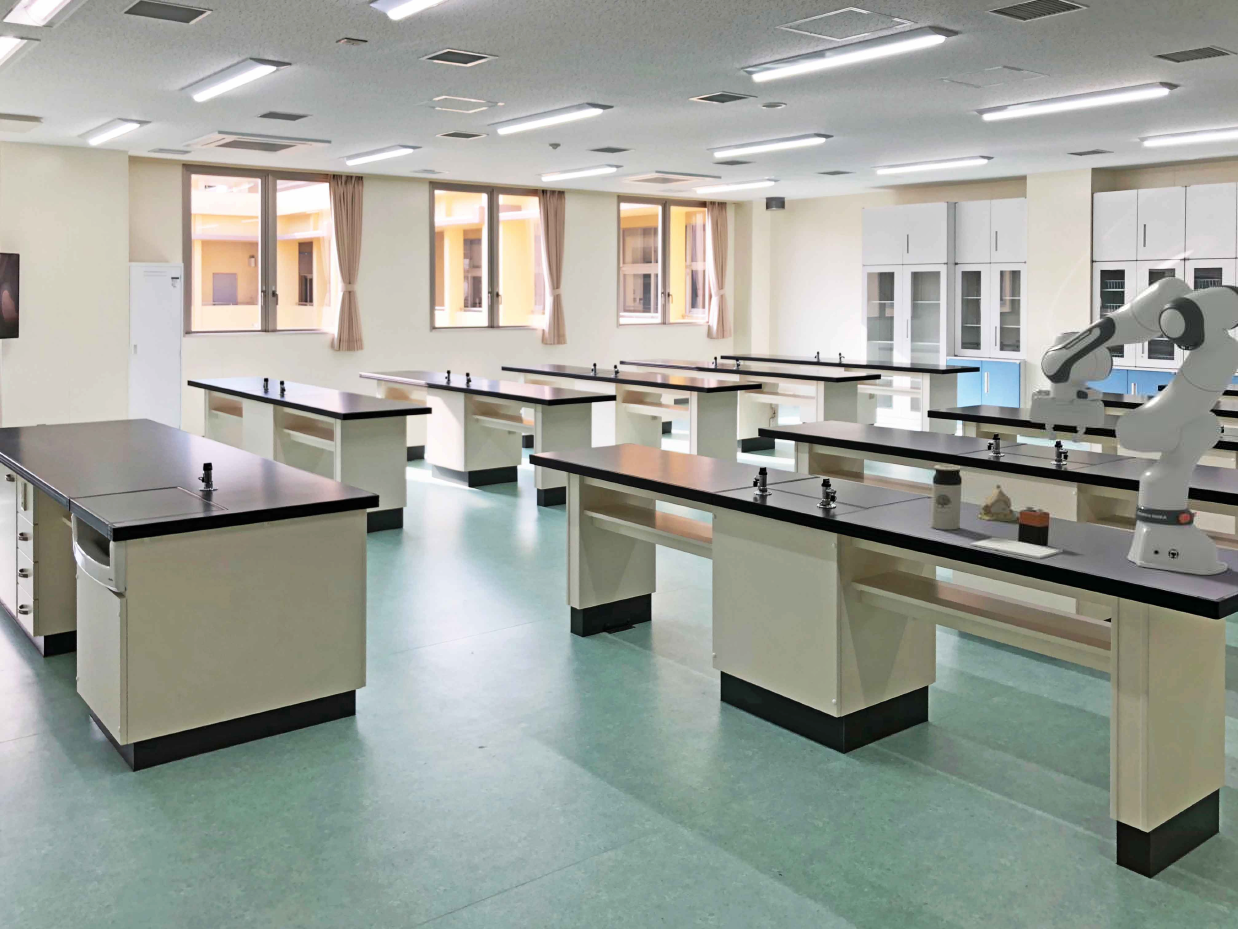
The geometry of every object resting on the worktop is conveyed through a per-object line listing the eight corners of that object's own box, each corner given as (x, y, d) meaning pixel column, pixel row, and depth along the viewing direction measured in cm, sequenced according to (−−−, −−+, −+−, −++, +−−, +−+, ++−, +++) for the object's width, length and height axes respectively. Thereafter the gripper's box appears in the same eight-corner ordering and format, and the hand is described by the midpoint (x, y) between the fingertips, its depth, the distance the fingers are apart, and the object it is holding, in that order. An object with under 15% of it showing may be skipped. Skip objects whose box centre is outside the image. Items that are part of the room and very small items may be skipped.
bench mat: (1062, 552, 289) (1062, 549, 289) (1039, 558, 282) (1039, 556, 282) (994, 539, 305) (994, 537, 304) (970, 545, 297) (970, 543, 297)
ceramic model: (1018, 522, 329) (1020, 489, 327) (979, 520, 331) (980, 488, 330) (1013, 513, 342) (1015, 482, 341) (976, 512, 345) (977, 480, 343)
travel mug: (939, 523, 326) (942, 463, 323) (964, 527, 320) (967, 466, 318) (925, 527, 320) (928, 466, 318) (950, 531, 315) (953, 469, 312)
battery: (1027, 541, 303) (1029, 505, 301) (1048, 545, 297) (1050, 509, 296) (1016, 543, 300) (1018, 507, 299) (1038, 547, 295) (1040, 511, 293)
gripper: (1026, 389, 307) (1023, 438, 309) (1097, 394, 292) (1094, 445, 294) (1038, 388, 311) (1035, 436, 313) (1108, 392, 296) (1105, 443, 298)
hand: (1064, 441), depth 304 cm, fingers open, 5 cm apart
